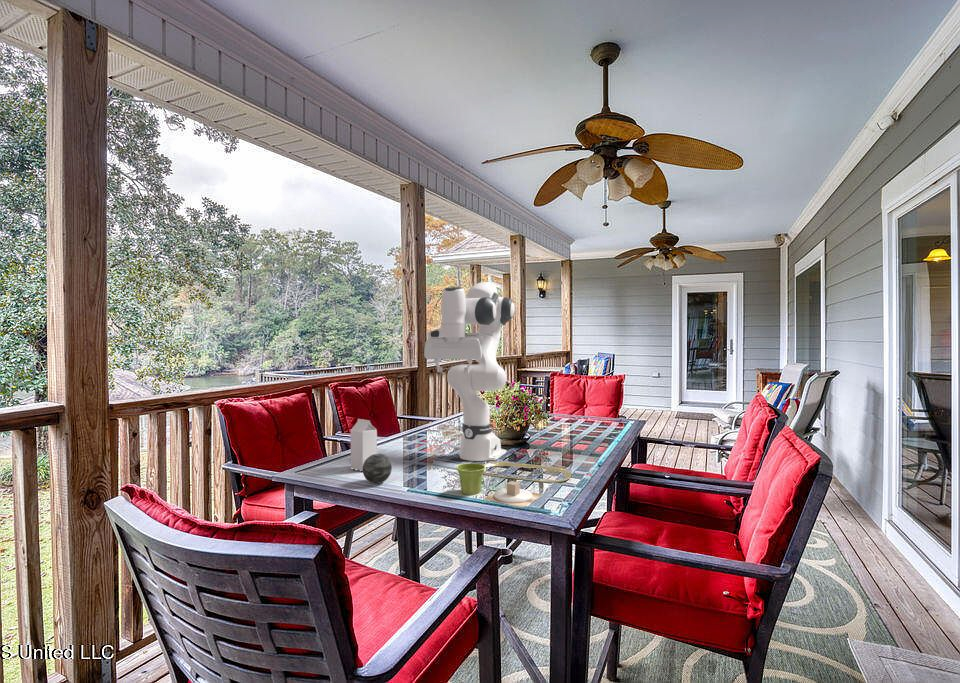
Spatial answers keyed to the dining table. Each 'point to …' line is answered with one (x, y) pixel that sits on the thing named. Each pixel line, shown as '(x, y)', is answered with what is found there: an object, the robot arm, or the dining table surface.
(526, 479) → the oval gold ring
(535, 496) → the mat
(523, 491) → the lid
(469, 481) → the plant pot
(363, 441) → the milk carton
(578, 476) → the dining table surface
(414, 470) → the dining table surface
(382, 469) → the decorative stone
